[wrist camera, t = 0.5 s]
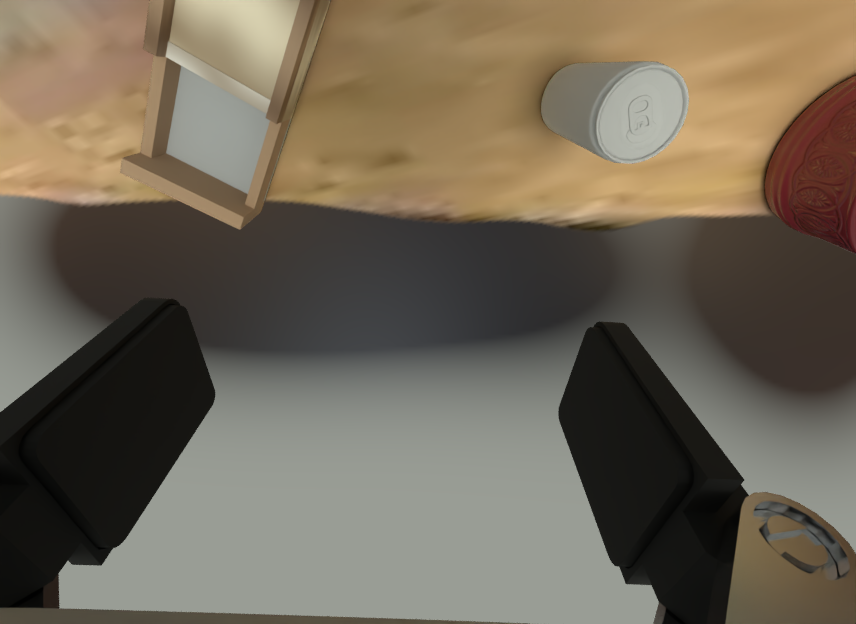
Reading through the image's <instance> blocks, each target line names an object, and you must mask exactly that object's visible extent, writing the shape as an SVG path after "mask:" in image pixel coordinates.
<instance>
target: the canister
mask: <svg viewBox="0 0 856 624" xmlns="http://www.w3.org/2000/svg"><path fill="white" fill-rule="evenodd" d="M765 195H766V200H767V203H768V205H769V207H770V209H771V211H772V212H773V213H774V214H775V215H776V216H777V217H778V218H780V219H781V220H782V221H783V222H784V223H785V224H786V225H788V226H789V227H790V228H792V229H794V230H797V231H799V232H800V233H803V234H805V235H808V236H813V237H817V238H820V239H823V240H825V241H827V242H829V243H832V244H834V245H836V246H838V247H841V248H843V249H845V250H848V251H850V252H852V253H854V254H856V75H855V76H853V77H851V78H849V79H847V80H845V81H844V82H842V83H840V84H838V85H837V86H835V87H834V88H832V89H831V90H829V91H828V92H826V93H825V94H824V95H822V96H821V97H820V98H819V99H817V100H816V101H815V102H814V103H813V104H812V105H810V106H809V107H808V108H807V109H806V110H805V111H804V112H803V113H802V114H801V115H800V116H799V117H798V119H797V120H796V121H795V122H794V123H793V124H792V126H791V127H790V128H789V129H788V131H787V132H786V133H785V135H784V136H783V138H782V139H781V141H780V143H779V144H778V146H777V148H776V150H775V152H774V154H773V156H772V158H771V161H770V163H769V166H768V170H767V174H766V179H765Z"/></svg>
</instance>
